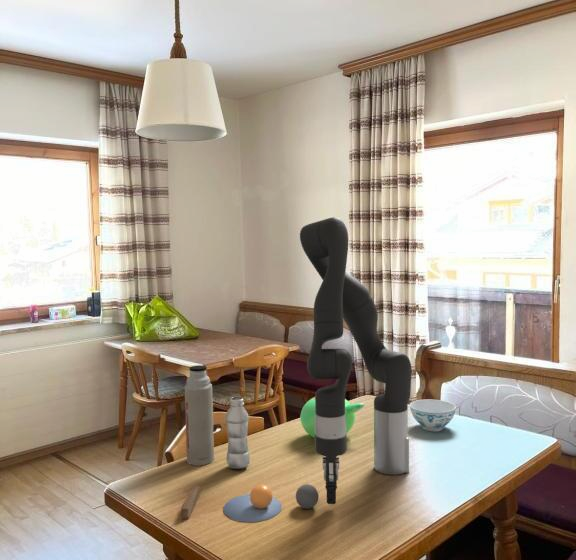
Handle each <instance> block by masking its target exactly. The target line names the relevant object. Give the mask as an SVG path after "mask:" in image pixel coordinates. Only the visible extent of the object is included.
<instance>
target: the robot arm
mask: <svg viewBox="0 0 576 560" xmlns="http://www.w3.org/2000/svg"><path fill="white" fill-rule="evenodd" d="M299 240H300V241H299V242H300V245H301V247H302V250H303V252H304V254H305V255H306V257H307V258H308V260H309V261H310V263H311V264H312V266H313V267H314V269H315V271H316V272H317V274H318V275H319V277H320V278H321V280H322V282H321V284H320V287H319V288H318V291H317V293H316V295H315V299H314V303H313V335H312V336H313V337H312V342H311V347H310V350H309V354H308V357H307V362H306V369H307V372H308V374H309V376H310V377H311V378H312V379H314V380H315V379H316V380H326V379H327V380H329V379H330V380H336V381H335V382H334V383H333V384H331V385H328V386H324V387H321V388H320V387H319V388H318V389H317V390H316V391H315V396H314V397H315V413H316V414H315V437H314V451H315V453H317V454H318V455H319V456H322V469H323V480H324V482H325V486H324V487H325V490H326V504H328V505H335V504H336V503H337V489H338V486H337V485H338V483H337V482H338V481H339V469H340V456H343V455H344V454H346V452H347V449H348V447H347V433H346V418H345V399H346V392H347V386H348V382H349V380H350V379H349V378H350V375H351V373H352V369H353V357H352V354H351V353H350V352H349V350H348V349H346V348H323V345H324V344H325V343H326V342H330V341H334V340H337V339H340V338H342V337H343V335H344V323H345V324H346V326H347V327H348V329H349V331H350V334H351V336H352V337H353V339H354V342H355V343H356V345H357V347H358V349H359V352H360V354H361V357H362V360H363V362H364V365H365V367H366V370H367V372H368V374H369V376H370V377H371V378H372V379H373V380H375V381H376V382H379V383H383V384H385V386H384V393H382V394H379V395H376V396H375V397H374V399H373V463H374V470H376V472H378V473H381V474H384V475H390V476H391V475H392V476H393V475H401V474H405V473H410V439H409V436H408V434H409V432H408V427H409V426H408V425H409V424H408V421H409V420H408V419H409V417H408V414H409V413H408V407H409V401H410V399H411V393H412V392H411V389H412V386H411V385H412V364H411V361H410V358H409V356H407V354H405V353H402V352H400V351H393V350H390V349H388V348H387V347H386V346H385V345H384V343H383V342H382V339H381V338H380V335H379V333H378V320H379V319H378V318H379V312H378V308H377V306H376V304H375V302H374V300H373V297H372V296H371V294H370V291H369V290H368V288H367V287H366V286H365V285H364V284H363V283H362V282H361V281H359V280H358V279H357V278H355V277H354V276H353V275H351V274H349V273H348V272H346V270H347V262H348V260H347V259H348V253H349V233H348V228H347V226H346V224H345V222H344V221H343V220H342V219H341V218H339V217H335V216H333V217H329V218H325V219H321V220H318V221H315V222H311V223H308V224H305V225H303V227H302V228H301V229H300V231H299Z"/></svg>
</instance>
